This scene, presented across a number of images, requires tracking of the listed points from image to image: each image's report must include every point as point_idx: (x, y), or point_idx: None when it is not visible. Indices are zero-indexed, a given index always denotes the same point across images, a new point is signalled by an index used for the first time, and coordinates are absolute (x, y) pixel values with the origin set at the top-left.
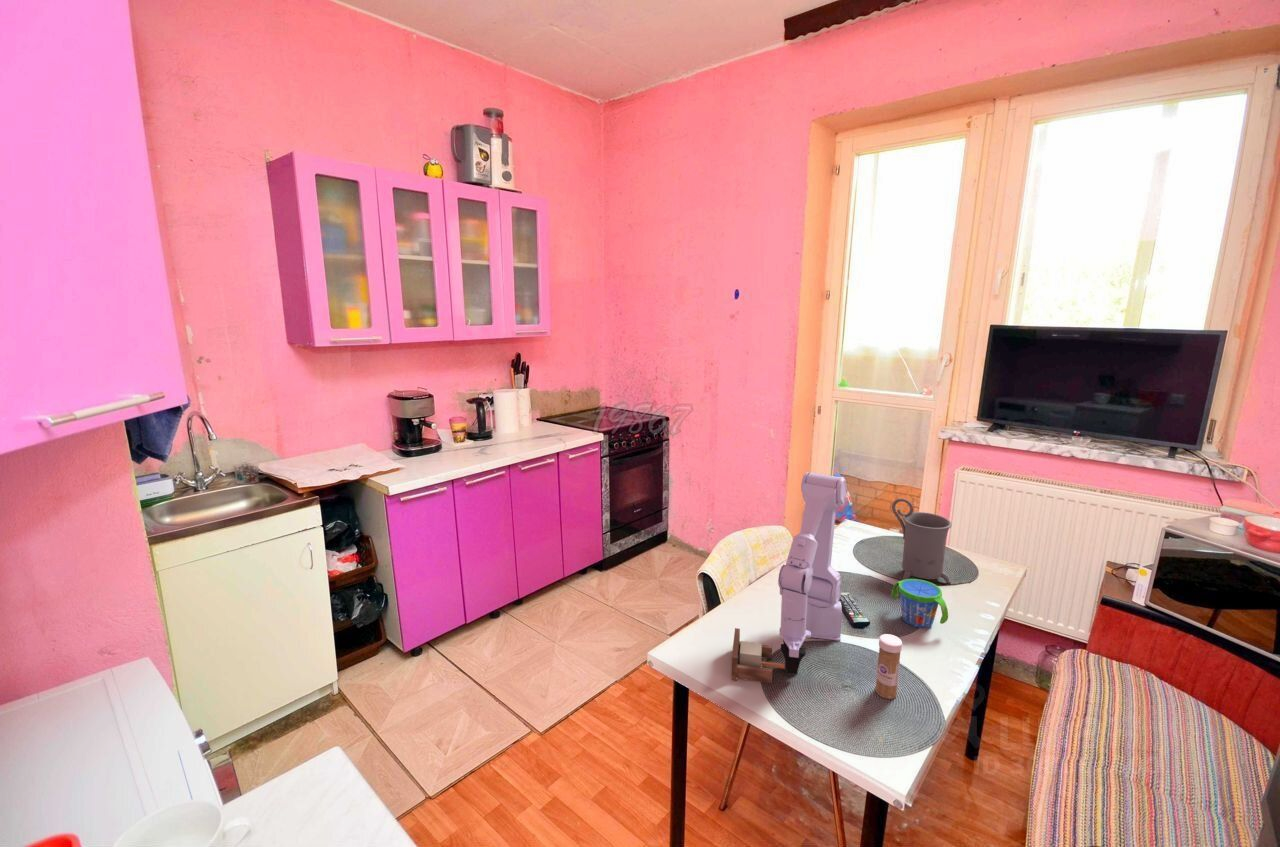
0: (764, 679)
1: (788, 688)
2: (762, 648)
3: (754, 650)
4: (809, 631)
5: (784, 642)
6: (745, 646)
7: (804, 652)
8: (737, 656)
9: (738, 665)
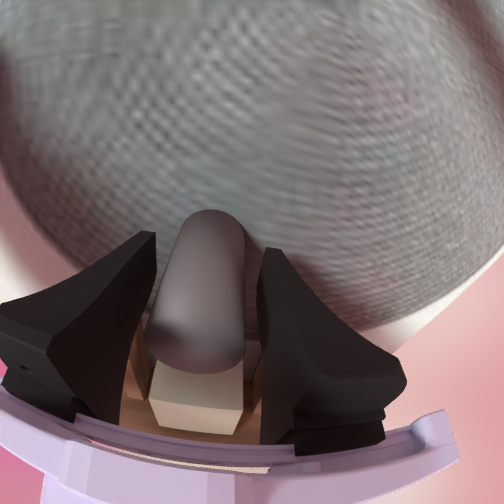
0: None
1: (330, 268)
2: (131, 355)
3: (208, 417)
4: (83, 494)
5: (125, 363)
6: (189, 425)
7: (399, 385)
8: (251, 437)
9: (259, 412)
